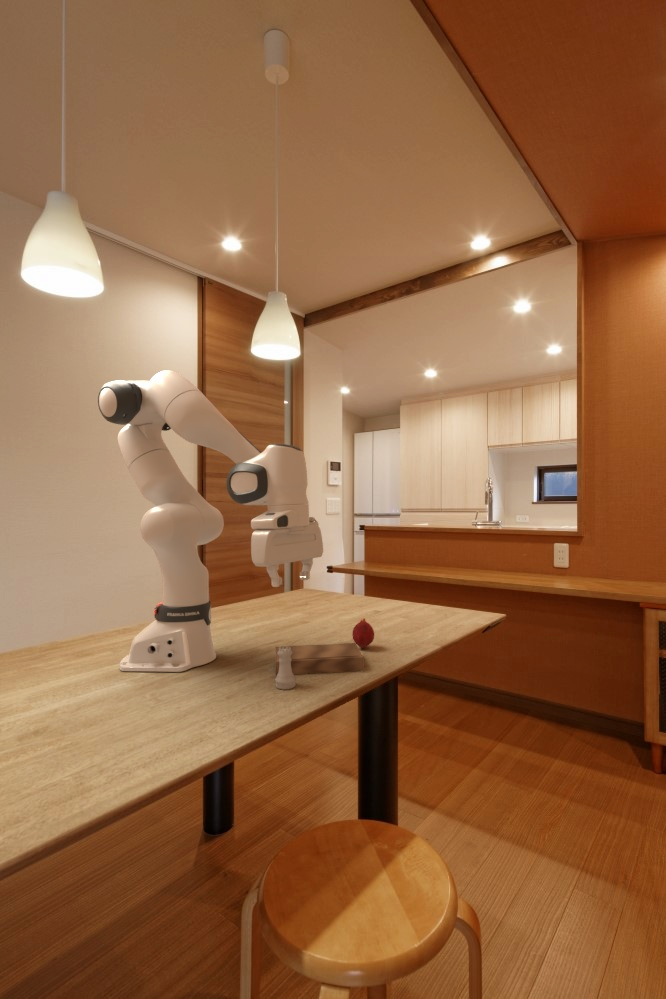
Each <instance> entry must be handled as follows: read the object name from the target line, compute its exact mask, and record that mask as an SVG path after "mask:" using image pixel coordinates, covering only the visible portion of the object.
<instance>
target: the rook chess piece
mask: <svg viewBox="0 0 666 999" xmlns="http://www.w3.org/2000/svg"><path fill="white" fill-rule="evenodd" d="M279 647H280V648H279V651H278V653H277V654H278V655H279V660H278V661H279V672H278V674H277V675H276V677H275V679H274V681H275V684H274V686H275V688H276V689H278V690H284V691H285V690H291V689H293V688H295V686H296V685H297V683H296V676H295V675H294V674H293V673H292V669H291V660H292V659H291V655H292V653H293V652H292V651H291V648H290V647H286V649H284V647H282V646H279ZM281 647H282V649H281Z"/></svg>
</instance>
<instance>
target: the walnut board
mask: <svg viewBox="0 0 666 999" xmlns="http://www.w3.org/2000/svg"><path fill="white" fill-rule="evenodd" d="M280 647H281V649H282V647H284V649H286V647H290V648H291V651H292V652H293V653H292V655H291V659H292V660H291V669H292V673H293V675H305V674H307V675H309V674H308V673H310V674H323V673H322V672H328V673H341V672H343V671H346V672H360V671H359V670H364V671H365V668H364V667H365V666H364V664H365V663H364V660H365V658H364V655H363V654H362V652H361V651H360V649H359V646H358V645H357V644H356V643H355V642H345V643H343V642H342V643H325V644H307V645H286V646H285V645H284V646H275V676H277V674H278V672H279V661H278V660H279V655H278V654H277V653H278V651H279V648H280ZM343 673H344V672H343Z"/></svg>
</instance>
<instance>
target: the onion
mask: <svg viewBox="0 0 666 999" xmlns="http://www.w3.org/2000/svg"><path fill="white" fill-rule="evenodd" d="M374 639H375V630H374V628H373V626H372V625H371V624H370V623H369V622H367V620H366V618H364V617H362V618H361V619H360V621H359V622H358V623H357V624H356V625H354V627H353V628H352V640H353V643H356V645H357V647H358V648H360V649H363V650H364V649H366V648H367V647H369V645H371V644H372V642H373V641H374Z"/></svg>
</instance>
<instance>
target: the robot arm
mask: <svg viewBox="0 0 666 999" xmlns="http://www.w3.org/2000/svg"><path fill="white" fill-rule="evenodd" d="M97 396H98V397H97V405H98V409H99V412H100V414H101V416H102V417H103V418H104V419H105V421H107V422H109V423H112V424H115V425H120V426H124V427H122V428H121V429H120V430H119V432H118V434H117V442H118V447H119V451H120V453H121V454H120V455H121V456H122V458H123V461H124V463H125V465H126V467H127V469H128V471H129V473H130V475H131V477H132V479H133V480H134V482H135V484H136V486H137V488H138V489H139V492H140V493H141V495H142V496H143V497H144V499H146V500H147V501H149V502H150V503H152V504H154V505H155V506H154V507H151V508H149V509H148V510H147V511H146V512H145V513H144V514H143V516H142V518H141V521H140V533H141V534H140V535H141V536H142V539H143V540H144V542H145V543H146V544H147V545H148V546H149V547H151V549H152V550H153V551H154V554H155V556H156V558H157V561H158V565H159V567H160V571H161V584H162V585H161V586H162V587H161V588H162V602H159V603H157V604H156V605H155V607H154V610H153V616H154V620H152V622H150V623H149V624H148V625H147V626H145V627H144V628H143V629H142V630H141V631H140V632H139V633H137V635H136V636H134V638H133V639H132V641H131V644H130V648H129V649H130V650H129V654H126V655H125V656H124V657H123V658H122V659H121V660H120V662H119V666H118V667H119V670H120V671H122V672H165V673H166V672H169V673H171V672H172V673H173V672H176V673H180V672H184V671H188V670H189V669H192V668H195V667H200V666H202V665H206V664H208V663H211V662H213V661H214V660H215V659H216V658H217V654H216V651H215V647H214V643H213V642H214V641H213V636H212V630H211V629H212V628H211V623H212V605H211V603H212V602H211V600H210V593H209V592H210V590H209V589H210V588H209V586H210V585H209V583H210V581H209V579H210V577H209V576H210V575H209V574H210V573H209V570H208V568H207V566H205V565H204V564H203V562H202V561H201V558H200V556H199V552H198V548H197V546H201V545H202V546H203V545H207V544H209V543H211V542H212V541H215V539H218V537H219V536H221V534H222V532H223V529H224V525H225V522H224V516H223V514H222V513H221V511H220V510H219V509H218V508H217V507H215V506H213V505H212V504H211V503H209V502H208V501H207V500H206V499H205V498H204V497H203V496H202V495H201V493H200V492H198V490H197V489H196V488H195V487H194V486H193V485H192V484H191V483H190V482H189V480H188V479H187V478H186V477H185V475H184V474H183V472H182V470H181V469H180V467H179V465H178V464H177V462H176V460H175V459H174V457H173V455H172V454H171V451H170V450H169V448H168V447H167V445H166V443H165V440H164V439H163V437H162V431H164V432H166V431H169V430H172V431H173V433H175V434H176V435H178V436H179V437H180V438H182V439H183V440H185V442H189V443H191V444H194V445H198V446H201V447H204V448H208V449H212V450H214V451H217V452H219V453H221V454H223V455H224V456H226V457H228V458H229V459H230V460H231V461H233V463H234V464H235V465H233V466H232V467H231V468H230V470H229V472H228V473H227V476H226V485H225V486H226V490H227V493H228V495H229V496H230V498H231V500H232V501H234V502H235V503H237V504H240V505H244V506H267V510H266V511H264V512H262V513H261V514H259V515H257V516H256V517H254V518H252V519H251V520H250V527H251V529H252V530H254V531H253V532H252V533H251V538H250V551H251V552H250V553H251V561H252V563H253V565H254V566H255V567H258V568H259V567H260V568H261V567H262V568H263V567H266V572H267V574H268V576H269V578H270V580H271V586H272V588H278V587H282V586H283V577H281V576H280V575H279V573H278V571H279V569H280V567H279V566H280V565H283V564H284V565H285V564H289V563H294V562H301V564H302V568H301V571H299V580H300V581H308V580H310V579H311V573H310V572H311V569H312V567H313V564H314V559H316V558H321V557H322V556H323V553H324V543H323V535H322V531H321V528H320V526H319V521H317V519H316V518H315V517H314V516H310V509H309V508H310V507H309V505H310V504H309V500H308V498H307V488H308V471H307V462H306V458H305V454H304V452H303V449H301V448H300V447H298V446H296V445H291V444H290V445H289V444H284V443H271V444H268V445H267V446H266V448H265V449H264V450H262V451H260V450H259V448H257V446H255V445H254V443H252V442H251V441H250V439H248V438H247V437H246V436H245V435H243V434H242V433H241V431H240V430H238V429H237V428H236V427H235V426H234V425H233V424H232V423H231V422H230V420H228V419H227V418H226V416H224V415H223V414H222V413H221V412H220V411H219V409H218V408H217V407H216V406H215V405H214V404H213V403H212V402H211V401H210V400H209V399H208V398H207V396H205V394H204V393H203V392H202V391H201V390H200V389H199V388H198V387H197V386H196V385H195V384H194V383H192V382H191V381H190V380H189V379H187V378H186V377H185V376H183V375H182V374H180V373H179V372H177V371H175V370H171V369H165V370H161V371H160V372H157V373H156V374H154V375H153V376H152V377H151V378H150V380H144V379H143V380H142V379H141V380H123V379H120V380H112V381H108V382H106V383H104V384H103V385H102V387H101V388H100V390H99V392H98V395H97Z"/></svg>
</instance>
